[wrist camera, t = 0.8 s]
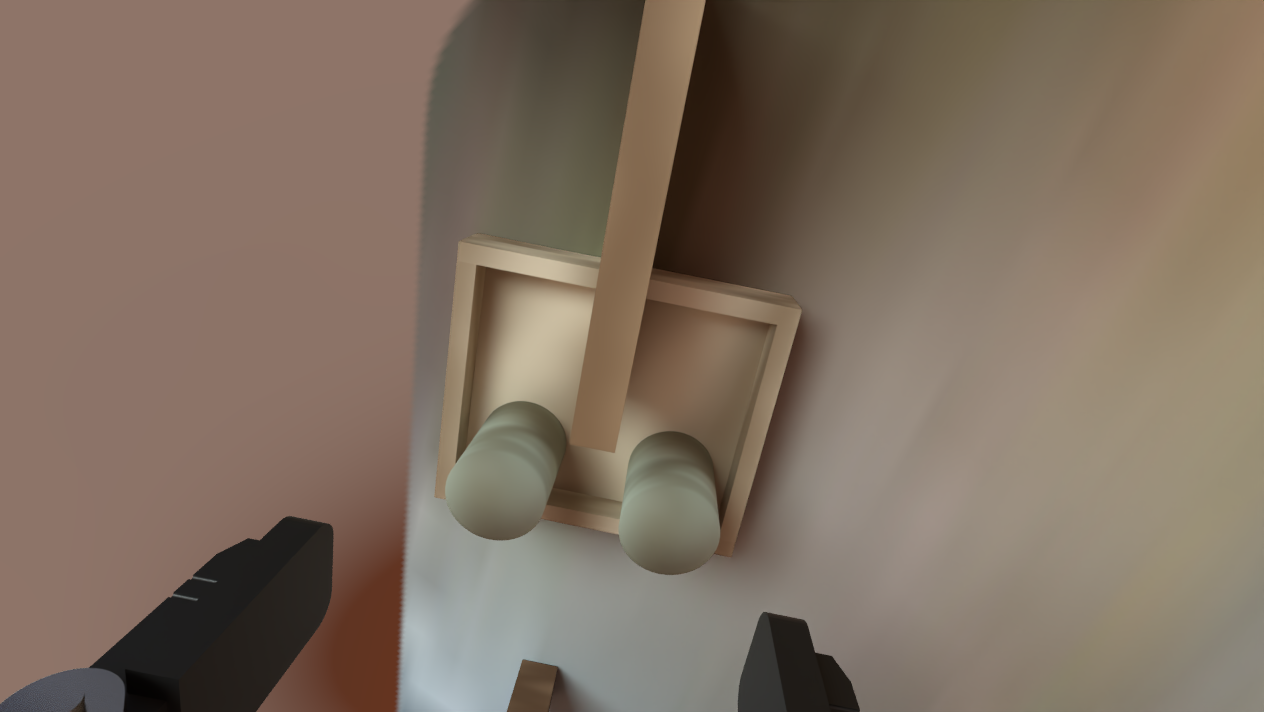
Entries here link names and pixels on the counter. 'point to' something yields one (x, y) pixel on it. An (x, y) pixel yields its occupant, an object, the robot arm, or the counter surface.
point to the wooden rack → (533, 688)
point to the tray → (613, 361)
